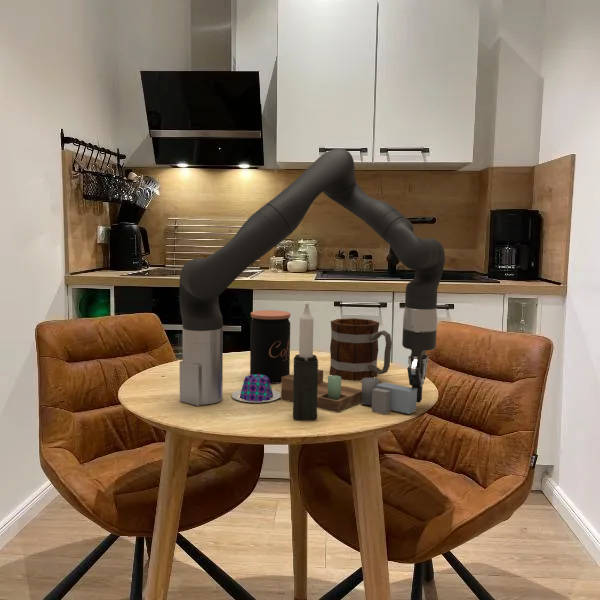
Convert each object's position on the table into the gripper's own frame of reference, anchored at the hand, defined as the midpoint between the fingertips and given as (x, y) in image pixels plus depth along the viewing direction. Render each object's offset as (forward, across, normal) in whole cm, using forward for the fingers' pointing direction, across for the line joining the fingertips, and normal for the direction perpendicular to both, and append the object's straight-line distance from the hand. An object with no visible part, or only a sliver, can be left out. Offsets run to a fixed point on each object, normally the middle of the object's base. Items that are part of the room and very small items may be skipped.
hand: (416, 401), depth 137 cm
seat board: (+2, +3, -22) cm, 22 cm away
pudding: (+2, +7, -37) cm, 38 cm away
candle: (+2, +16, -21) cm, 27 cm away
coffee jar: (+2, -10, -41) cm, 42 cm away
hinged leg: (+1, +3, -6) cm, 7 cm away
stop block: (+2, +6, -7) cm, 9 cm away
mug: (+2, -22, -19) cm, 29 cm away
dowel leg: (+2, +7, -18) cm, 19 cm away
